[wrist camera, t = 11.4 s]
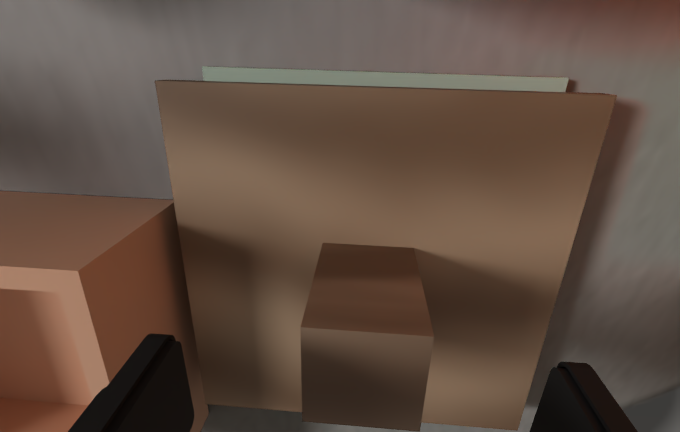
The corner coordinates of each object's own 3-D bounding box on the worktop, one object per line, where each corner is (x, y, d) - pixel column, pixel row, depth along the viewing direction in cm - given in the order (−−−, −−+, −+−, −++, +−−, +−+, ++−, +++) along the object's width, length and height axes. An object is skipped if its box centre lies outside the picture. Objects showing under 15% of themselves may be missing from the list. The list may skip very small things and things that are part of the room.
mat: (207, 66, 14) (201, 66, 14) (562, 77, 13) (568, 77, 13) (239, 383, 20) (236, 390, 20) (483, 403, 19) (486, 411, 19)
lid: (174, 79, 14) (30, 91, 8) (592, 92, 13) (777, 117, 7) (216, 381, 20) (150, 518, 14) (507, 404, 19) (569, 562, 13)
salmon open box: (-98, 185, 17) (-322, 244, 12) (176, 200, 16) (77, 271, 11) (-5, 394, 22) (-130, 505, 17) (208, 413, 21) (152, 536, 16)
